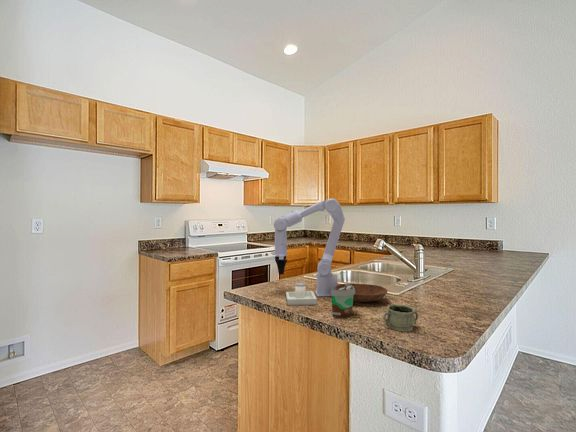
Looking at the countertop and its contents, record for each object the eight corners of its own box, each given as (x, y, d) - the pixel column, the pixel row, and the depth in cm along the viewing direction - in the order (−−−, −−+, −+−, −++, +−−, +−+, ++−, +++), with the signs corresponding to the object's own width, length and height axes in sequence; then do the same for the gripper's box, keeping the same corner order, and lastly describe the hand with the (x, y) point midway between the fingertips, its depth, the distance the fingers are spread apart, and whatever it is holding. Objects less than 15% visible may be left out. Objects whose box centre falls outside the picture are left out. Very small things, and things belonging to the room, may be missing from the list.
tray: (312, 296, 135) (312, 291, 135) (316, 305, 123) (316, 298, 123) (285, 297, 135) (285, 291, 135) (287, 305, 123) (287, 299, 123)
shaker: (305, 298, 131) (305, 282, 131) (305, 301, 127) (305, 284, 127) (295, 298, 131) (295, 282, 131) (295, 301, 127) (295, 284, 127)
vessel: (411, 321, 105) (411, 303, 105) (425, 331, 96) (425, 311, 96) (377, 323, 103) (377, 304, 103) (389, 333, 95) (389, 313, 95)
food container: (346, 321, 105) (346, 292, 105) (330, 317, 109) (330, 289, 109) (360, 311, 115) (360, 285, 115) (346, 308, 119) (346, 283, 119)
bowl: (390, 308, 119) (390, 296, 119) (333, 305, 123) (333, 293, 123) (384, 295, 138) (384, 284, 138) (336, 292, 142) (336, 282, 142)
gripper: (272, 242, 149) (272, 269, 149) (272, 245, 135) (272, 276, 135) (286, 242, 150) (286, 269, 150) (288, 245, 135) (288, 275, 135)
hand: (280, 272), depth 142 cm, fingers open, 7 cm apart
